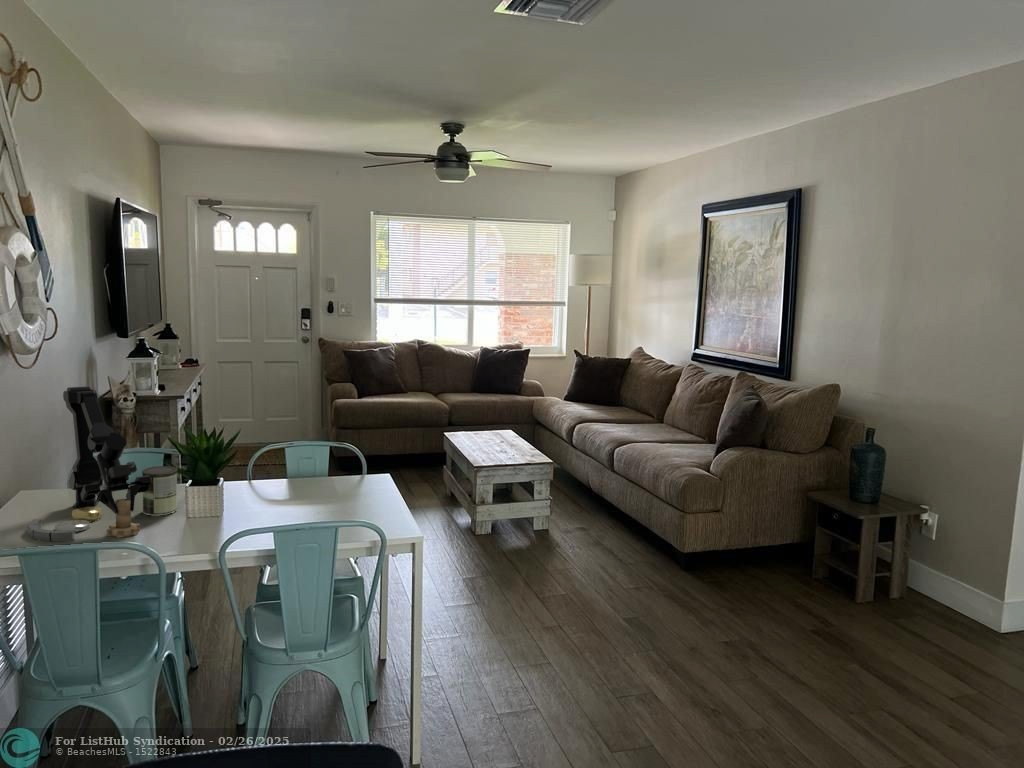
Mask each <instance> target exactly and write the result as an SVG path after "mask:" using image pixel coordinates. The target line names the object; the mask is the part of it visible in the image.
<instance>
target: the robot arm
mask: <svg viewBox="0 0 1024 768" xmlns="http://www.w3.org/2000/svg"><path fill="white" fill-rule="evenodd" d="M62 398H63V402H65V405H66V408H67V410H68V411H69V412H70V413H71V414H72V419H73V420H72V421H73V429H74V438H75V439H74V440H75V449H76V460H75V462H74V463H73V465H72V468H71V469H72V471H71V474H70V476H69V479H68V486H69V487H68V488H69V489H71V490H72V491H75V503H73V505H72V508H75V509H79V508H84V507H96V506H97V505H98V504H99V502H101V504H103V505H105V506H106V507H107V508H108V509H109V510H111V512H112V513H114V514H115V515H116V514H118V510H117V506H116V504H115V501H116V500H115V499H114V497H113V493H114V492H117V491H124V490H126V492H127V493H126V494H125V497H126V498H125V499H130V500H131V512H134V510H135V500H136V499H135V497H136V496H137V494H140V493H143V492H146V491H148V490H149V488H150V486H151V484H152V482H153V481H152V478H151V477H150V476H148V475H147V476H142V475H141V476H140V475H139V476H136V478H135V480H133V481H130V482H129V481H128V480H129V479H130V476H132V474H134V473H136V472H137V470H138V469H137V465H136V462H135V461H129V462H127V463H126V464H121V461H120V458H121V457H122V456H123V453H124V451H125V449H126V446H127V439H126V438H125V437H123V436H122V435H121V434H117V431H114V430H113V428H111V427H110V426H109V425H107V423H106V422H105V418H104V415H103V413H102V410H101V407H100V404H99V401H98V393H97V389H93V388H91V387H90V386H88V385H87V386H73V387H72V386H71V387H67V388H66V390H64V391H63V393H62ZM94 453H98V454H97V455H96V458H95V456H94ZM127 481H128V482H127ZM103 483H104V484H103Z"/></svg>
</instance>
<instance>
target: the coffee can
mask: <svg viewBox="0 0 1024 768" xmlns="http://www.w3.org/2000/svg"><path fill="white" fill-rule="evenodd" d="M177 472H178V468H177V467H174V466H169V465H158V466H151V467H146V468H144V469H142V471H141V474H142V475H141V476H147V475H148V476H150V477H151V478H152V481H153V482H152V484H151V486H150V488H149V490H148V491H146V492H142V514H143V513H144V514H146V515H145V516H147V515H153V516H152V517H160V516H159V515H165V516H167V515H166V514H170V513H173V514H175V513H176V512H177V511H178V507H177V506H178V504H177V503H178V502H177V499H178V497H177V496H178V493H177V492H178V491H177V489H178V488H177V487H178V485H177V483H178V481H177V480H178V479H177V478H178V476H177V475H178V473H177ZM175 511H176V512H175ZM174 512H175V513H174ZM144 514H143V515H144ZM170 515H171V514H170Z"/></svg>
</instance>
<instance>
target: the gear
mask: <svg viewBox="0 0 1024 768" xmlns="http://www.w3.org/2000/svg"><path fill="white" fill-rule="evenodd" d="M114 501H115V504H116V506H117V510H118V514H115V523H112V524H111V525H109V526H108V528H106V536H107V535H108V537H114V536H116V537H115V538H118V539H122V538H121V537H123V538H124V536H126V537H131V536H137V535H138V534H139V531H141V524H140V523H135V522H134V523H133V522H132V517H131V516H132V511H131V500H130V499H127V498H119V499H116V500H114ZM138 530H139V531H138ZM130 535H131V536H130Z"/></svg>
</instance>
